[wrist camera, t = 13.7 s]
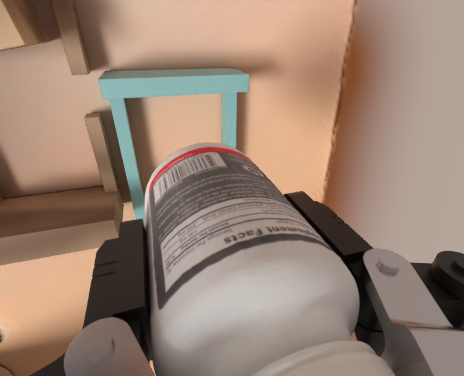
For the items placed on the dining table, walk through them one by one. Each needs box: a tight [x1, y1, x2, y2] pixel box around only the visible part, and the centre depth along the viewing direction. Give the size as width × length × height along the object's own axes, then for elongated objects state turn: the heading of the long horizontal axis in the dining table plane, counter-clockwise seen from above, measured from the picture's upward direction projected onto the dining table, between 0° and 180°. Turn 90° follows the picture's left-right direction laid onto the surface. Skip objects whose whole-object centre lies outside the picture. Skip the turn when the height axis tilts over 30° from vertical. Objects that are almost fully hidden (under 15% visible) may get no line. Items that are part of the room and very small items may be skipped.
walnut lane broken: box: [0, 0, 124, 265], centre depth 17 cm, size 20×10×6 cm, turn 0°
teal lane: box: [98, 68, 249, 226], centre depth 24 cm, size 22×10×6 cm, turn 0°
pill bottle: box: [145, 143, 396, 376], centre depth 8 cm, size 5×5×10 cm
